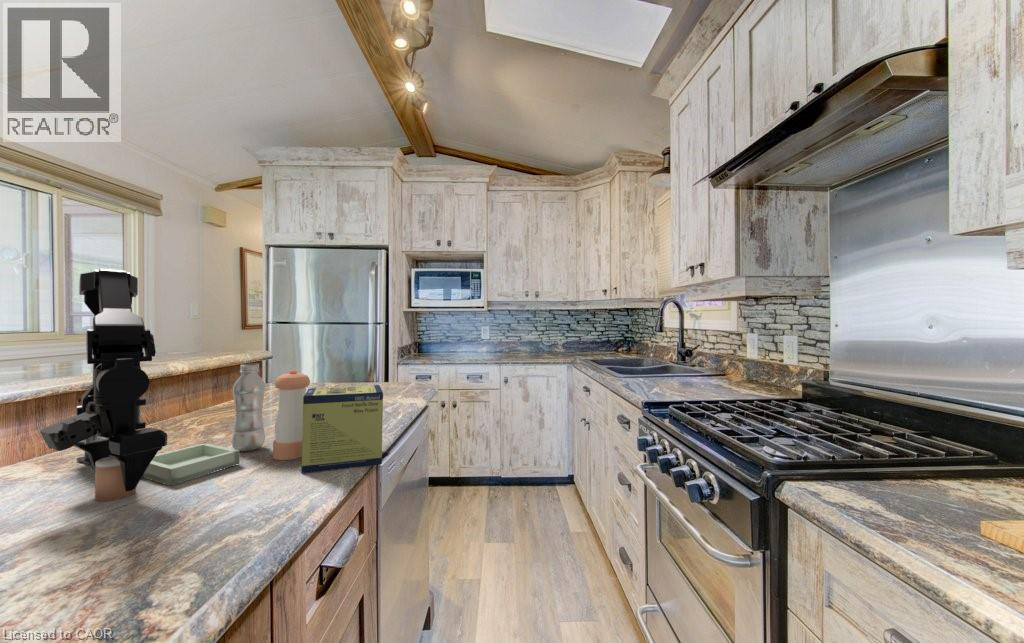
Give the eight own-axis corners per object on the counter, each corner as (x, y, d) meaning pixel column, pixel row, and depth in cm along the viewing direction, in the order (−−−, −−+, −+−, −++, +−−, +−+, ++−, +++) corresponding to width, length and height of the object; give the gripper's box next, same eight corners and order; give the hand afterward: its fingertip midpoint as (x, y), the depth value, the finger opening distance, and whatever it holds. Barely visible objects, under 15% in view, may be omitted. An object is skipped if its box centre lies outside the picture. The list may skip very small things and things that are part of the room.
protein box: (383, 464, 84) (384, 391, 84) (300, 474, 78) (301, 395, 78) (379, 450, 93) (380, 384, 94) (305, 458, 87) (306, 387, 88)
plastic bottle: (271, 446, 95) (272, 363, 96) (250, 455, 89) (251, 366, 89) (246, 445, 96) (248, 362, 96) (223, 454, 89) (225, 365, 89)
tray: (135, 475, 77) (136, 459, 77) (204, 456, 88) (205, 443, 88) (170, 485, 72) (171, 469, 72) (239, 464, 83) (239, 450, 83)
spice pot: (88, 497, 67) (89, 461, 67) (127, 486, 71) (127, 452, 71) (103, 503, 65) (104, 465, 65) (142, 492, 69) (142, 456, 69)
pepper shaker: (298, 460, 86) (300, 372, 86) (265, 460, 86) (266, 371, 86) (315, 449, 93) (317, 368, 93) (285, 449, 93) (286, 368, 93)
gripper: (23, 398, 64) (21, 494, 64) (77, 408, 57) (75, 517, 57) (114, 388, 75) (112, 471, 74) (169, 396, 67) (168, 488, 67)
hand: (116, 485), depth 68 cm, fingers open, 9 cm apart
